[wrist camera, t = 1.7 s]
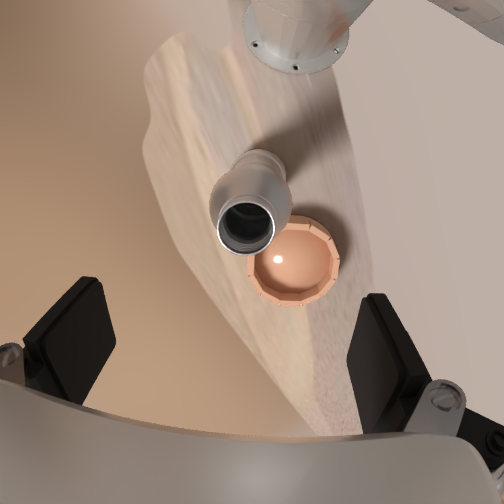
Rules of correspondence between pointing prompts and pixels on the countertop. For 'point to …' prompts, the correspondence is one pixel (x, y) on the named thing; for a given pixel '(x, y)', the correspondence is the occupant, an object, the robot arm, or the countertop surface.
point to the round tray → (296, 264)
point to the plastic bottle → (251, 203)
